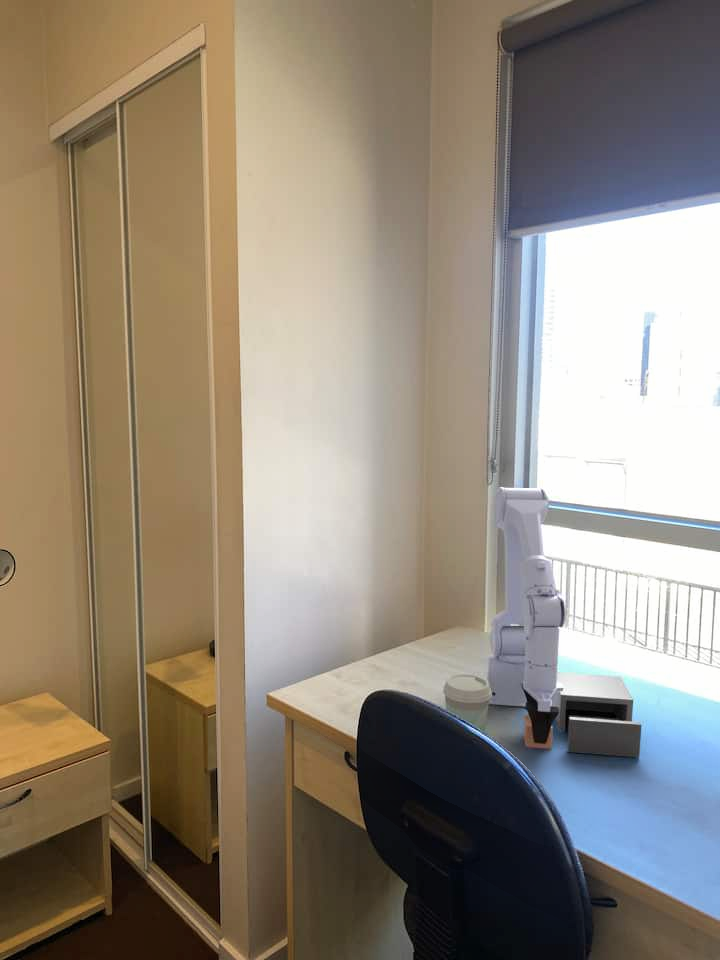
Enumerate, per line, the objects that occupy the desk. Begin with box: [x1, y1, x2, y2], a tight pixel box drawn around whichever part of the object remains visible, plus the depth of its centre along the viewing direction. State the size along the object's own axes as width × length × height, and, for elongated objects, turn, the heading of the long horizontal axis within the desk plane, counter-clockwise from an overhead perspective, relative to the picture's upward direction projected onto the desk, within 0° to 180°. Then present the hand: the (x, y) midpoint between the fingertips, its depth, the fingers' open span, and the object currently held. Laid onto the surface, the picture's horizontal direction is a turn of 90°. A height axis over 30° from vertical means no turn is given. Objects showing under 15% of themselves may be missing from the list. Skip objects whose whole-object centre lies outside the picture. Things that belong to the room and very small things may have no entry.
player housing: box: [551, 671, 634, 732], centre depth 139 cm, size 13×11×7 cm
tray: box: [567, 714, 642, 758], centre depth 131 cm, size 12×11×6 cm
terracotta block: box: [523, 714, 553, 750], centre depth 131 cm, size 4×4×4 cm
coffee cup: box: [442, 673, 492, 733], centre depth 128 cm, size 8×8×12 cm
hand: (537, 732), depth 131 cm, fingers open, 7 cm apart
